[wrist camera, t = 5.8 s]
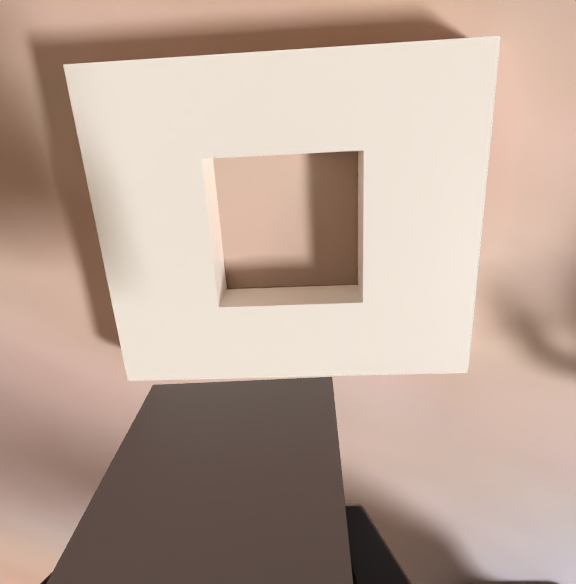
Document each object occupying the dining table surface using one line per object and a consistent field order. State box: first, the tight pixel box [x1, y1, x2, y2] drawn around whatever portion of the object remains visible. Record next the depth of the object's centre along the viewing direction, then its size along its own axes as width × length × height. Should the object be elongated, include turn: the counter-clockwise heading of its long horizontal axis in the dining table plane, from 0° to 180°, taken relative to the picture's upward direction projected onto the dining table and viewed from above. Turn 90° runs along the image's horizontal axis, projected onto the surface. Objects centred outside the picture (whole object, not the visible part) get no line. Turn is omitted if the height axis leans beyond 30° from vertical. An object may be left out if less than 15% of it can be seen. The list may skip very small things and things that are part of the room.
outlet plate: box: [63, 36, 501, 381], centre depth 18 cm, size 14×12×2 cm
